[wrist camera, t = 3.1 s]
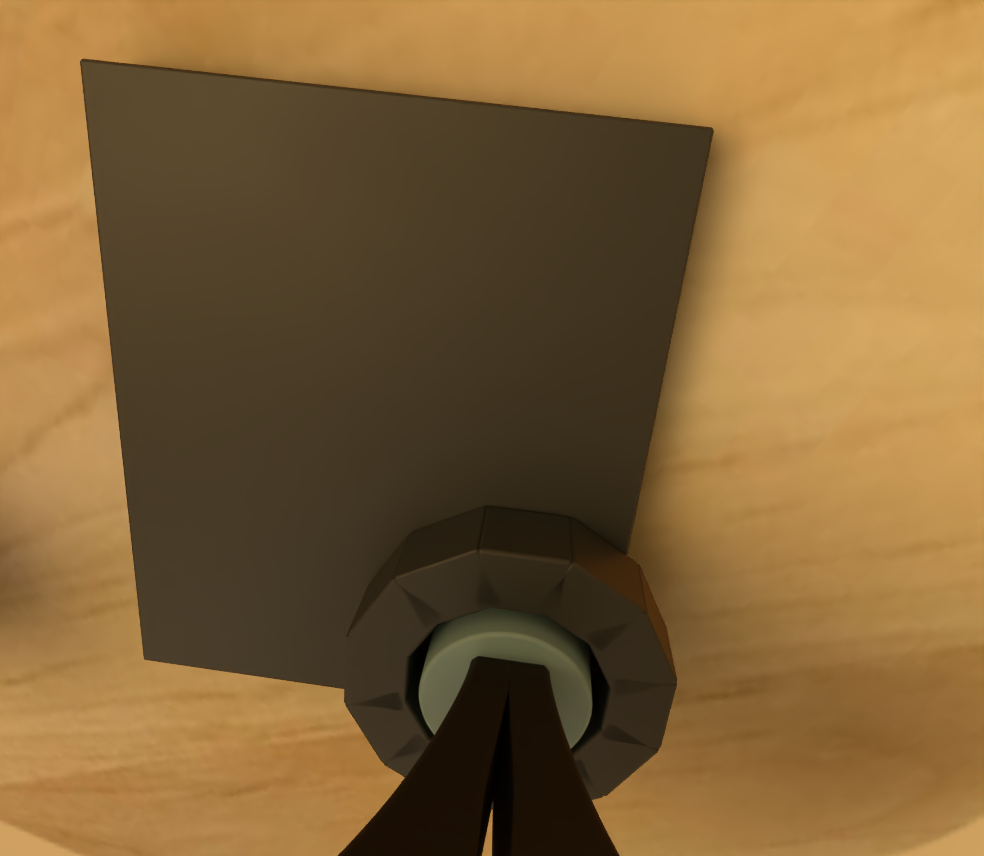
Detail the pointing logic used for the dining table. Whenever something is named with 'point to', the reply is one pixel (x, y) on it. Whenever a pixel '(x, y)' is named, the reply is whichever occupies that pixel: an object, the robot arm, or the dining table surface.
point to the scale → (389, 380)
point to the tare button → (509, 641)
